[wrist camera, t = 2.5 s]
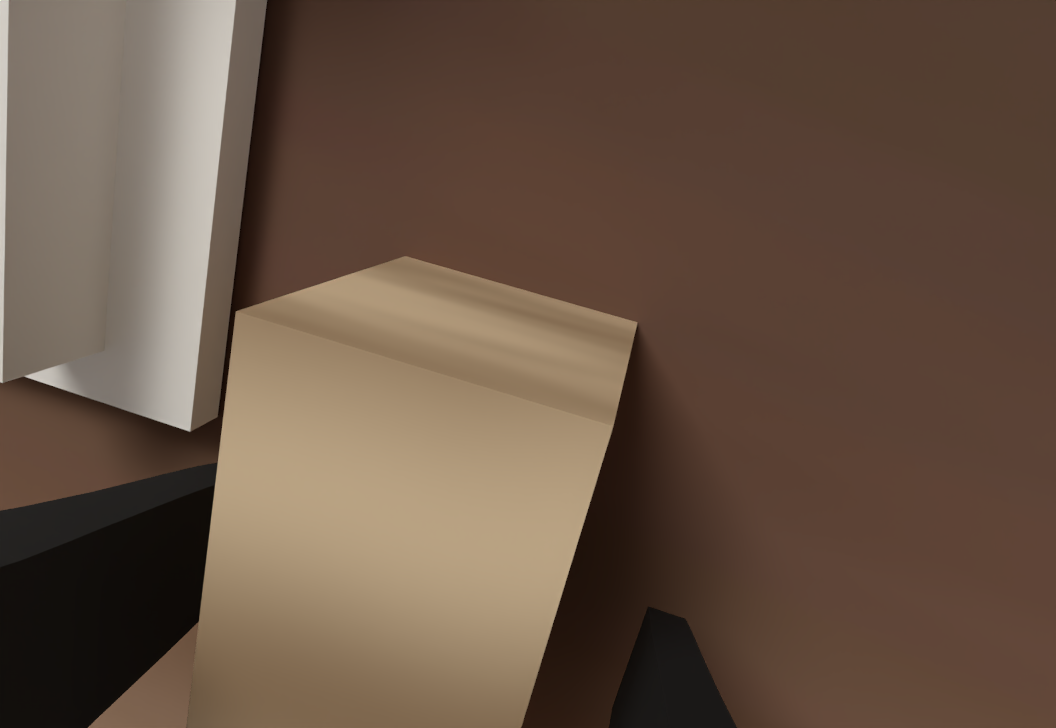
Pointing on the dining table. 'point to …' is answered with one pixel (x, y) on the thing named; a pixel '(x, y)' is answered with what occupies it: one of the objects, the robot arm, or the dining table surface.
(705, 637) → the dining table surface
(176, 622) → the robot arm
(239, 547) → the tan block
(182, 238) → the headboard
